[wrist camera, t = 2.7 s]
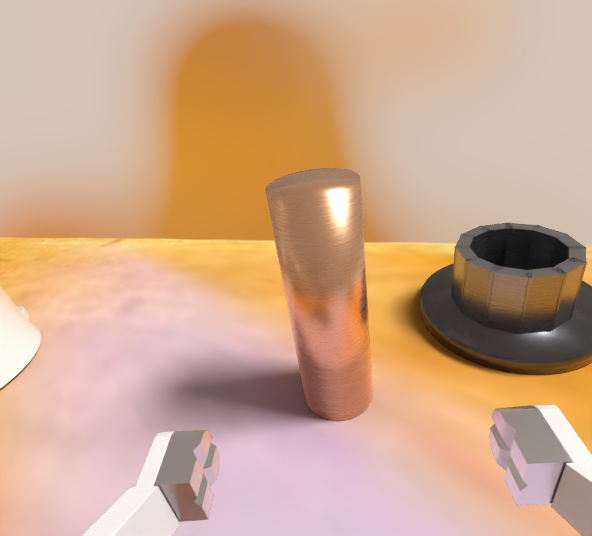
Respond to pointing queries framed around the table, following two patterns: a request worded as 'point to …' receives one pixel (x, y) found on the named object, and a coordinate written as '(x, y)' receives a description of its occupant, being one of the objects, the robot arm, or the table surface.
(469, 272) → the pipe sleeve
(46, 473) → the table surface
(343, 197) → the copper pipe
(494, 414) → the robot arm
